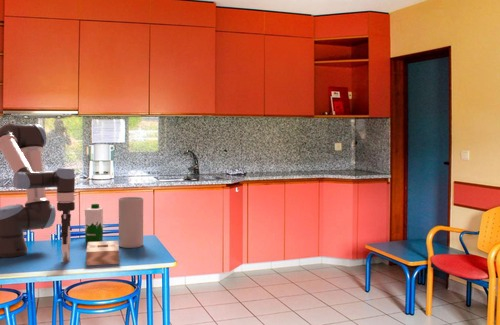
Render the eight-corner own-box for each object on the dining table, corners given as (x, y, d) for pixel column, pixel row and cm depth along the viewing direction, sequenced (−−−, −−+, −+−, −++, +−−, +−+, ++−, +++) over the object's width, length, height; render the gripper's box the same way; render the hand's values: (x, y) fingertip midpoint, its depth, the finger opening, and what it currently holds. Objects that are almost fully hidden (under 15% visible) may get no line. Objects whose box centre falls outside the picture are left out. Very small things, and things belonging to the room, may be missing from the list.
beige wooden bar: (62, 262, 227) (62, 227, 226) (62, 261, 230) (62, 226, 229) (69, 262, 227) (69, 227, 227) (70, 260, 230) (70, 226, 230)
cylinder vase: (141, 242, 272) (141, 196, 270) (144, 247, 260) (144, 199, 259) (117, 244, 267) (117, 197, 266) (120, 249, 256) (120, 200, 254)
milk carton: (104, 239, 278) (104, 203, 277) (98, 243, 269) (98, 206, 268) (89, 239, 278) (88, 203, 278) (82, 242, 269) (82, 205, 269)
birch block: (86, 265, 222) (86, 252, 222) (88, 254, 243) (88, 242, 243) (118, 263, 226) (118, 250, 226) (117, 252, 247) (117, 240, 247)
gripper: (72, 205, 216) (73, 253, 217) (76, 198, 240) (76, 242, 241) (54, 205, 214) (54, 254, 215) (59, 198, 238) (59, 242, 239)
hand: (66, 248), depth 228 cm, fingers open, 13 cm apart
